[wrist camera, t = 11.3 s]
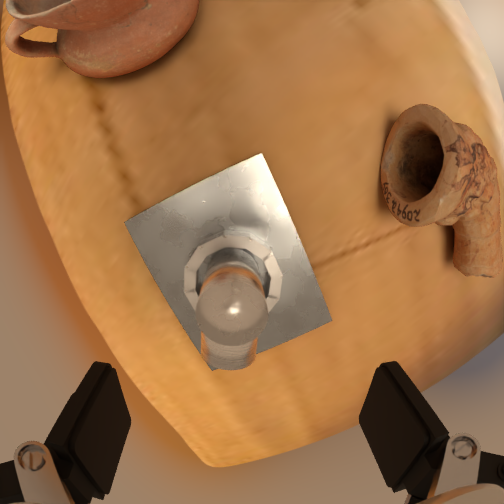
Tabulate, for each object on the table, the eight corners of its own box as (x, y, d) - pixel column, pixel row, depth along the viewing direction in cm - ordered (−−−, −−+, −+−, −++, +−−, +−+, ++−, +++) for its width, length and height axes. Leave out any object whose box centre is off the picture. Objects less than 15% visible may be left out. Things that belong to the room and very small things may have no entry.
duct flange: (126, 221, 26) (115, 226, 23) (261, 153, 25) (264, 150, 22) (212, 367, 30) (210, 383, 28) (330, 318, 29) (338, 330, 27)
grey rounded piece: (208, 246, 26) (196, 278, 18) (260, 250, 27) (272, 284, 18) (204, 317, 28) (195, 369, 20) (253, 320, 28) (260, 373, 20)
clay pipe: (426, 112, 28) (342, 122, 24) (495, 97, 18) (434, 91, 14) (453, 253, 32) (384, 305, 28) (519, 264, 22) (466, 336, 18)
